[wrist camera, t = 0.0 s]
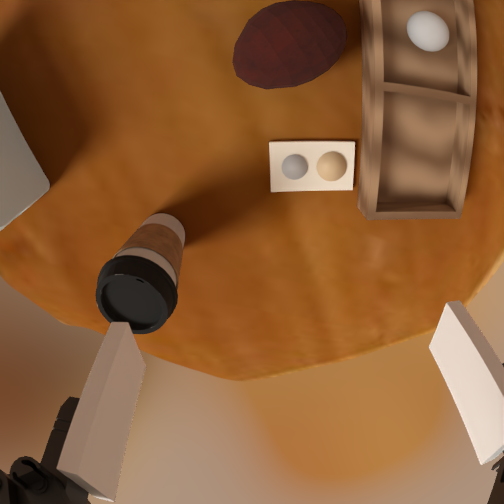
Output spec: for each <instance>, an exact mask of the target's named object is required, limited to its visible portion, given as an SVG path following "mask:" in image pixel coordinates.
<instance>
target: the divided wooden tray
mask: <svg viewBox="0 0 504 504" xmlns="http://www.w3.org/2000/svg"><path fill="white" fill-rule="evenodd" d="M359 6H360V20H361V40H362V139H361V160H360V176H359V190H358V202H357V207H358V209H359V210H360V211H361V213H362V214H363V215H364V217H365V218H366V219H367V220H391V219H460V218H461V214H462V209H463V204H464V199H465V193H466V188H467V182H468V176H469V170H470V163H471V156H472V148H473V139H474V129H475V117H476V100H477V38H476V23H475V12H474V2H473V0H359ZM419 11H429V12H432V13H435V14H436V15H438V16H439V17H441V18H442V19H443V20H444V22H445V23H446V25H447V27H448V29H449V41H448V43H447V45H446V46H445V47H444V48H443V49H441V50H439V51H434V52H430V51H425V50H423V49H421V48H419V47H417V46H416V45H415V44H414V43H413V42H412V41H411V39H410V38H409V35H408V33H407V22H408V20H409V18H410V17H411V16H412V15H413V14H414V13H416V12H419Z"/></svg>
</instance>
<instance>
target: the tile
mask: <svg viewBox="0 0 504 504" xmlns="http://www.w3.org/2000/svg"><path fill="white" fill-rule="evenodd" d="M269 154H270V184H271V192H285V191H320V190H353V175H354V156H355V142H354V141H270V142H269Z"/></svg>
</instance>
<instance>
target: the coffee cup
mask: <svg viewBox="0 0 504 504" xmlns="http://www.w3.org/2000/svg"><path fill="white" fill-rule="evenodd" d="M184 242H185V231H184V228H183V226H182V224H181V223H180V222H179V220H177V219H176V218H175V217H173V216H171V215H169V214H164V213H158V214H154V215H152V216H150V217H149V218H147V219H146V220H145V222H144V223H143V224H142V225H141V226H140V227H139V229H137V231H136V232H135V233H134V234H133V235H132V236H131V237H130V238H129V239H128V240H127V242H126V243H125V244H124V245H123V246H122V247H121V248H120V249H119V251H118V252H117V253H116V254H115V255H114V257H113V258H112V259H111V260H109V261H108V262H107V263H106V264H105V265H104V266H103V267H102V269H101V271H100V274H99V277H98V282H97V289H96V302H97V305H98V308H99V310H100V312H101V313H102V315H103V316H104V317H105V318H106V319H107V320H108V321H109V322H110V323H111V322H128V323H129V325H130V328H131V331H132V333H133V334H147V333H151V332H154V331H156V330H158V329H159V328H160V327H161V326H163V324H164V323H165V322H166V320H167V319H168V318H169V317H170V316H171V314H172V313H173V311H174V309H175V307H176V304H177V299H178V294H177V288H178V282H179V275H180V267H181V260H182V253H183V247H184Z"/></svg>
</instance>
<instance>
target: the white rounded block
mask: <svg viewBox="0 0 504 504" xmlns="http://www.w3.org/2000/svg"><path fill="white" fill-rule="evenodd" d="M49 188H50V183H49V180H48V179H47V177H46V175H45V174H44V172H43V170H42V169H41V167H40V165H39V164H38V162H37V160H36V158H35V157H34V155H33V153H32V151H31V150H30V148H29V146H28V144H27V142H26V141H25V139H24V137H23V135H22V133H21V131H20V129H19V127H18V126H17V124H16V122H15V120H14V118H13V116H12V114H11V112H10V110H9V108H8V106H7V104H6V102H5V99H4V97H3V95H2V93H1V91H0V231H1V230H2V229H3V228H5V227H6V226H7V225H8V224H9V223H10V222H12V221H13V220H14V219H15V218H16V217H18V216H19V215H20V214H21V213H23V212H24V211H25V210H26V209H28V208H29V207H30V206H31V205H32V204H33V203H34V202H36V201H37V200H38V199H39V198H40V197H41V196H43V195H44V194H45V193H46V192H47V191H48V190H49Z"/></svg>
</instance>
